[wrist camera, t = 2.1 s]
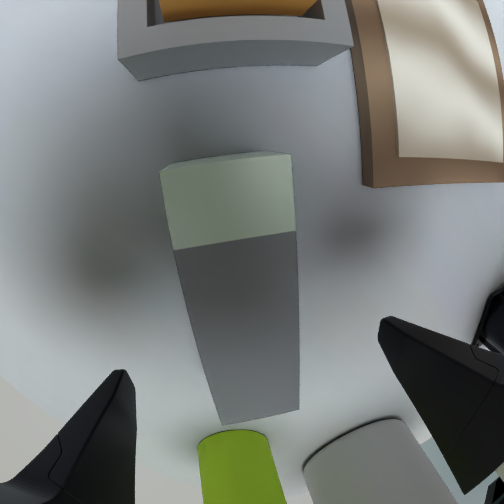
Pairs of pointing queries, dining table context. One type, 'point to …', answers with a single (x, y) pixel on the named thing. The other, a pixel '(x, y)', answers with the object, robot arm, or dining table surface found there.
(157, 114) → the dining table surface
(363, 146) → the board
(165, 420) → the dining table surface
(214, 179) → the grey green block
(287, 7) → the button
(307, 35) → the button housing
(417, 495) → the cylinder vase
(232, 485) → the soap dispenser
